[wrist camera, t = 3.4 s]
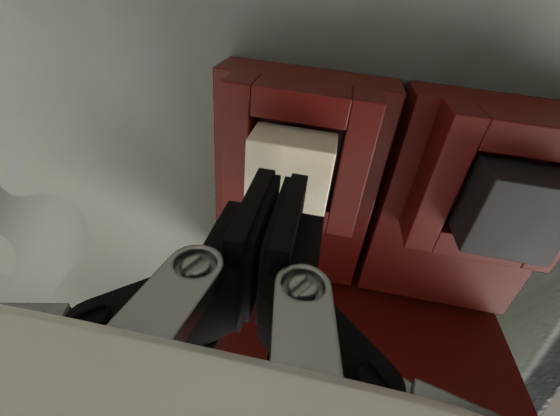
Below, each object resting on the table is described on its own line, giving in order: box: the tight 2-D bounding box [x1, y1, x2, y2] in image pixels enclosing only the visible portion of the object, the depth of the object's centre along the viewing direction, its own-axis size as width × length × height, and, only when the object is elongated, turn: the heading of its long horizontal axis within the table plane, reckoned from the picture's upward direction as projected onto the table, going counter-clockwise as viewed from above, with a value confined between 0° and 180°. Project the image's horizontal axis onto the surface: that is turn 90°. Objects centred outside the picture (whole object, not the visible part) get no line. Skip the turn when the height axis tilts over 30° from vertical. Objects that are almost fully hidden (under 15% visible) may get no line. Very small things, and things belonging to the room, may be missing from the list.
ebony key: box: [448, 155, 560, 267], centre depth 13 cm, size 3×3×2 cm
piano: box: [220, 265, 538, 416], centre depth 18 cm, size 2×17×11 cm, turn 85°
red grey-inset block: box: [357, 80, 560, 315], centre depth 16 cm, size 11×8×4 cm
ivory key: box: [244, 121, 338, 217], centre depth 13 cm, size 3×3×2 cm
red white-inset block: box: [213, 56, 407, 285], centre depth 17 cm, size 11×8×4 cm
